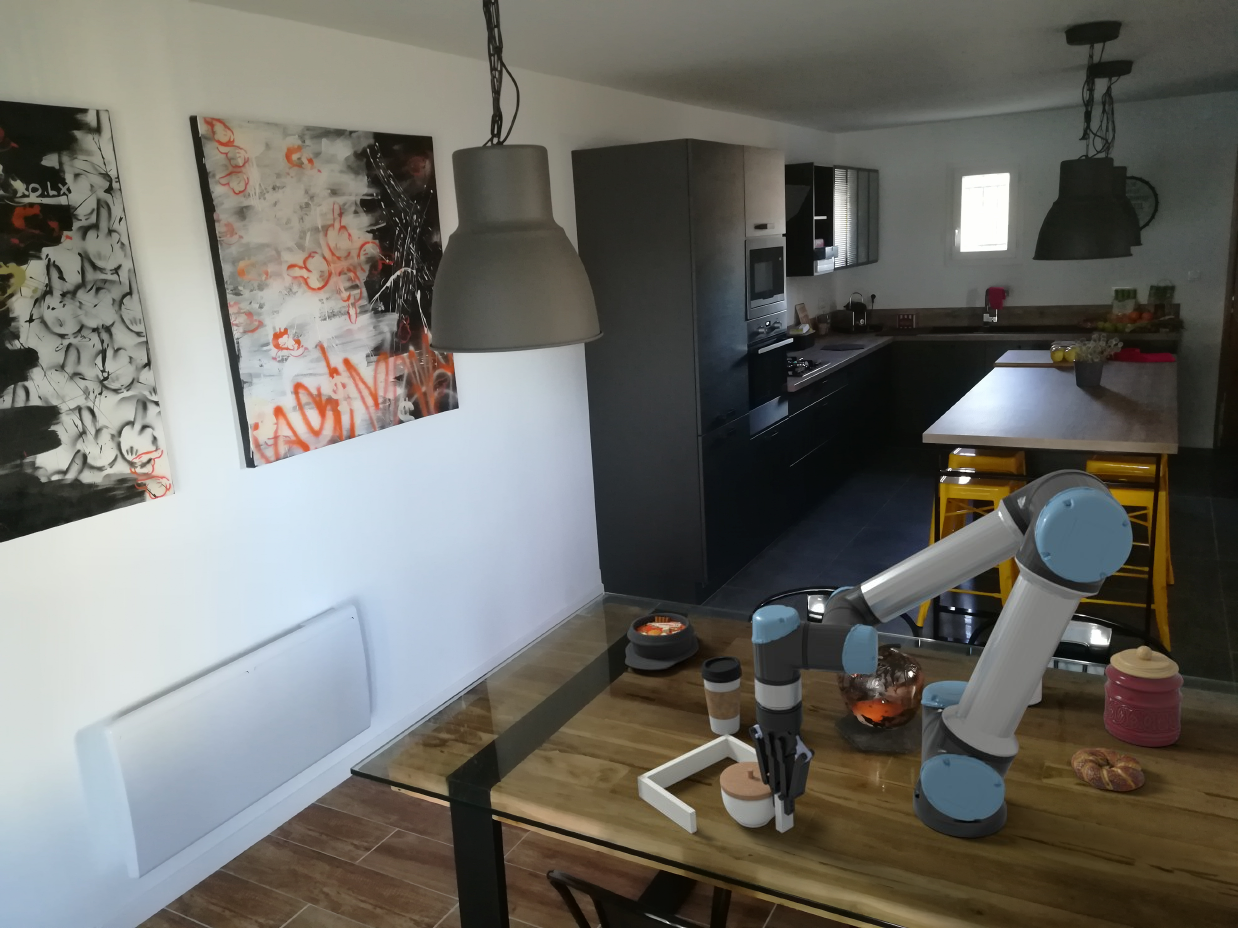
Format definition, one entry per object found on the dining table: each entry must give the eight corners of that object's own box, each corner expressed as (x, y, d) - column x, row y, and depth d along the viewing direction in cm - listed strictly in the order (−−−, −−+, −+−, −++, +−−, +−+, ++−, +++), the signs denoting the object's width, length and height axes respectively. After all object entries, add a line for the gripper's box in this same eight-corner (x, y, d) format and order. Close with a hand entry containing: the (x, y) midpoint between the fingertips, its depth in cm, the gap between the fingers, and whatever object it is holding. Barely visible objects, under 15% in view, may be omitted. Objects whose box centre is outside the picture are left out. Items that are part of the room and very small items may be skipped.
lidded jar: (769, 842, 151) (766, 792, 149) (712, 826, 157) (708, 778, 155) (792, 807, 160) (790, 760, 158) (737, 793, 166) (734, 747, 164)
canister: (1187, 726, 175) (1192, 642, 171) (1171, 755, 166) (1175, 667, 162) (1113, 708, 184) (1116, 627, 180) (1094, 735, 174) (1097, 651, 171)
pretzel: (1057, 775, 163) (1058, 757, 163) (1088, 752, 170) (1088, 735, 169) (1126, 802, 154) (1127, 783, 153) (1156, 777, 160) (1156, 758, 159)
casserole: (647, 631, 242) (645, 602, 240) (713, 638, 234) (711, 608, 232) (608, 672, 220) (605, 640, 218) (679, 681, 212) (676, 648, 210)
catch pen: (783, 783, 168) (782, 763, 167) (691, 833, 155) (689, 813, 155) (728, 751, 180) (727, 733, 179) (639, 796, 168) (637, 776, 167)
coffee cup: (744, 738, 184) (739, 671, 181) (703, 737, 186) (698, 671, 183) (746, 718, 192) (742, 653, 189) (707, 717, 194) (702, 653, 191)
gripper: (824, 705, 143) (829, 835, 149) (766, 679, 154) (772, 802, 159) (792, 721, 139) (798, 855, 144) (734, 694, 150) (741, 819, 155)
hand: (784, 827), depth 152 cm, fingers closed
